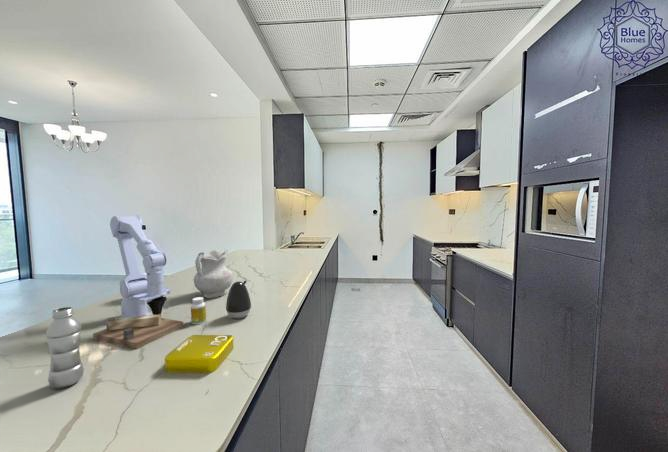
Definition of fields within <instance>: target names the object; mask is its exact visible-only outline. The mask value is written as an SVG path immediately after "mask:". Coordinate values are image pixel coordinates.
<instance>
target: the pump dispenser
mask: <svg viewBox="0 0 668 452" xmlns="http://www.w3.org/2000/svg"><path fill="white" fill-rule="evenodd" d="M246 284H247V280H243V282H242V281H234V282H232V283H231V285H230V287H229V290H228V292H227V296H226V297H227V298H226V302H225V303H226V304H225V311H226V313H227V315H228V316H229V317H230V318H231V319H235V320H237V319H238V320H239V319H243V318H245V317H246V316H247V315H248V314H249V313H250V311H251V308H252V301H251V297H250V293H249V290H248V288H247V286H246Z"/></svg>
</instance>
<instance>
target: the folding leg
mask: <svg viewBox="0 0 668 452" xmlns="http://www.w3.org/2000/svg"><path fill="white" fill-rule="evenodd" d="M161 318H162V313H161V314H159V315H153V314H151V315H148V316H138V317H128V318H119V317H118V318H116V317H113V316H112V317H111V316H110V317H107V318H106V319H105V323H106V326H105V327H106V329H107V330H116V329H125V328H134V327H144V326H153V325H159V324H160V323H161V322H162V320H161Z"/></svg>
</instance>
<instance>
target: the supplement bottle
mask: <svg viewBox="0 0 668 452" xmlns="http://www.w3.org/2000/svg"><path fill="white" fill-rule="evenodd" d="M206 311H207V310H206V303H205V302H204V297H203V296H198V297H194V298H192V304H191V306H190V320H191V324H193V325H200V324H204V323H205V322H206V321H207V312H206Z"/></svg>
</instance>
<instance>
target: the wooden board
mask: <svg viewBox="0 0 668 452" xmlns="http://www.w3.org/2000/svg"><path fill="white" fill-rule="evenodd" d="M142 316H147V315H142ZM161 320H162V322H161V323H160V324H159V325H153V326H144V327H134V328H125V329H116V330H107V328H104V329H102V330H100V331H97V332H94V333H92V337H93V338H92V339H93V340H95V341H100V342H105V343H109V344H113V345H117V344H118V345H117V346H121V345H123V347H127V348H130V349H131V348H132V349H134V350H138V349H140V348H142V347H143V346H146V345H149V344H150V343H152V342H154V341H156V340H159V339H161V338H163V337H165V336H167V335H170V334H171V333H173V332H176V331H177V330H180V329H182V328H183V327H185V326H184V321H182V320H175V319H169V318H163V317H161Z"/></svg>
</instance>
